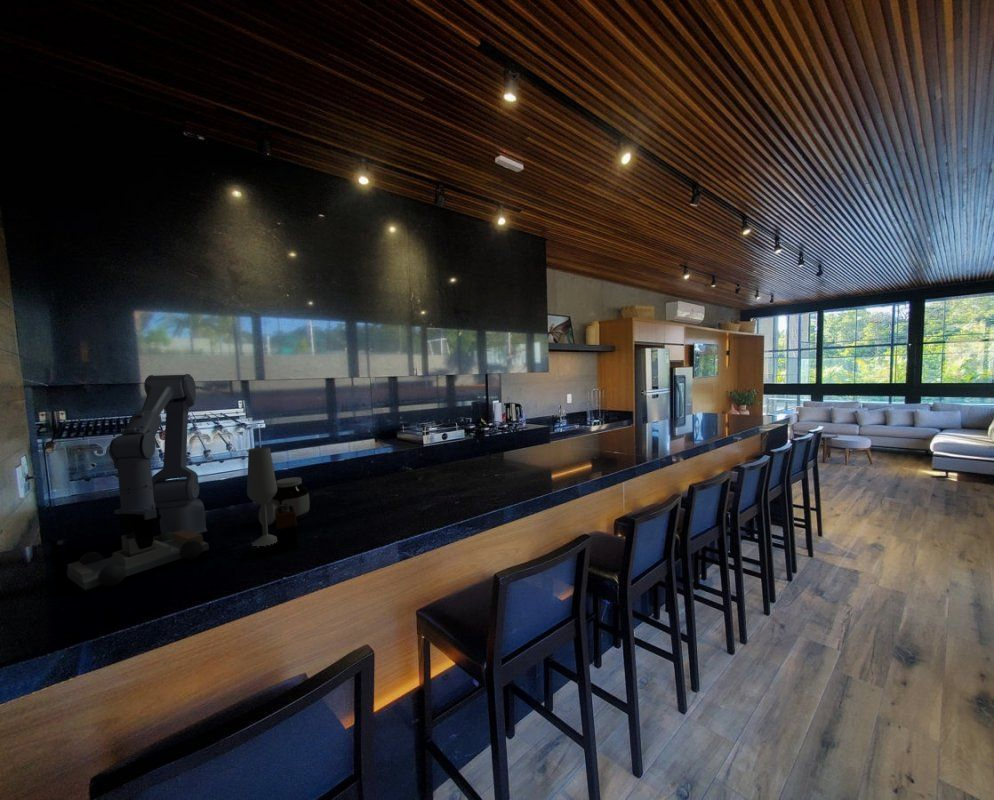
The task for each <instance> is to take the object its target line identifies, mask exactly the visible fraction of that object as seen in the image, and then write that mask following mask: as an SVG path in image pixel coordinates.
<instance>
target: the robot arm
mask: <svg viewBox="0 0 994 800" xmlns="http://www.w3.org/2000/svg"><path fill="white" fill-rule="evenodd" d="M143 385H144V392H145V394H146V398H145V400H144V402H143V405H142V407H141V410H138V411H135V412H134V413H133V414H132V415H131V417H130V418H129V421H128V423H127V424H126V427H125V428H124V429H123V432H122V433H121V435H119V434H118V435H117V436H116V437H114V438H113V439H112V440H111V441H110V444H109V449H108V453H109V456H110V459H111V460H112V462H113V468H114V469H115V470H117V477H118V478H117V480H118V490H119V499H120V500H119V501H120V508H119V509H115V510H114V511H113V514H115V515H118V516H117V517H116V519H117V520H118V522H119V523H120V524H121V525H122V527H123V529H124V531H125V533H126V534H125V535H127V534H130V533H133V531H134V534H135V537H136V541H137V544H138V547H139V549H144V548H147V547H151V546H152V543H153V538H154V539H156V538H157V537H158V536H159V535H155V532H156V529H157V527H158V523H159V525H160V527H159V528H160V534H161V533H163V532H166V531H170V532H173V533H174V532H178V531H181V530H185V529H188V530H190V531H193V532H196V533H199V534H203V533H205V532H206V533H207V532H208V529H207V525H206V523H207V522H206V511H205V506H204V503H203V501H202V500H201V499H199V498H198V496H199V494H200V483H199V476H198V475H199V474H198V473H197V472H196V471H195V470H193V469H192V468H191V469H190V468H189V467H187V452H188V451H187V450H188V427H189V426H188V425H189V424H188V423H189V412H190V411H189V409H190V408H191V407H193V406H194V405H195V404H196V393H197V389H196V388H197V386H196V382H195V379H194V377H193V376H192V375H191V374H189V373H185V374H164V375H163V374H161V375H159V374H157V375H154V374H150V375H148V376H146V378H145V379H144V384H143ZM163 410H164V411H165V427H164V428H165V430H164V447H163V448H164V449H163V466H162V467H163V468H161V469H160V470H159V471H157V472H156V473H155V474H153V475H152V473H153V471H152V463H151V458H153V456H154V454H155V451H156V443H157V439H156V435H157V434H158V431H159V430H160V427H161V425H162V422H163V420H162V417H161V416H160V415H161V413H162V412H163ZM156 508H157V509H158V513H157V509H156ZM121 514H122V515H121Z"/></svg>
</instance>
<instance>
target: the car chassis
mask: <svg viewBox="0 0 994 800" xmlns="http://www.w3.org/2000/svg"><path fill="white" fill-rule="evenodd" d="M157 536H158V537H157V538H155V539H154V540H155V550H153V551H149V552H146V553H143V554H139V555H136V556H133V557H129V558H128V557H126V556H124V555H123V549H120V550H117V551H113V552H112V553H111V555H112V556H111V557H108V558H105V557H104V556H103V554H101V553H99V552H95V551H90V552H87V553H85V554H83V555H82V556H80V558H79V559H78V561H74V562H71V563H68V564H67V569H66V574H67V578H68V579H70V580H71V581H72V582H73V583H75V585H77V586H78V587H80V588H81V589H82V590H84V591H87V590H90V589H93V588H95V587H99V586H102V585H103V586H105V587H114V586H117V585H119V584H120V583H122V582H123V581H124V579H126V577H129V576H132V575H135V574H138V573H142V572H144V571H148V570H150V569H153V568H156V567H157V568H158V567H160V566H163V565H165V564H169V563H172V562H175V561H178V560H181V559H185V560H189V561H190V560H194V559H197V557H199V556H200V555H201V553H202V552H204V551H208V550H210V545H209V542H206V541H204V535H203V533H200V534H199V533H196V532H193V531H190V530H188V529H185V530H181V531H178V532H174V533H173V532H170V531H166V532H163V533H161V532H160V533H159V534H158V535H157Z"/></svg>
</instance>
